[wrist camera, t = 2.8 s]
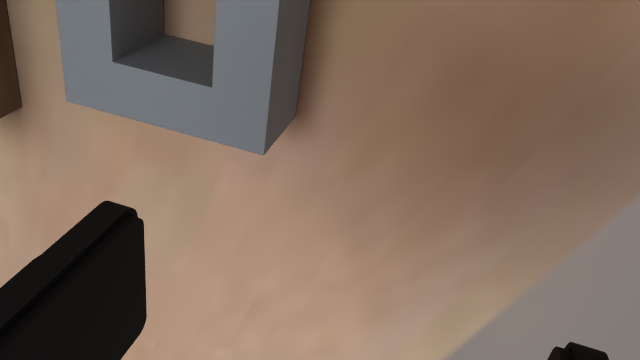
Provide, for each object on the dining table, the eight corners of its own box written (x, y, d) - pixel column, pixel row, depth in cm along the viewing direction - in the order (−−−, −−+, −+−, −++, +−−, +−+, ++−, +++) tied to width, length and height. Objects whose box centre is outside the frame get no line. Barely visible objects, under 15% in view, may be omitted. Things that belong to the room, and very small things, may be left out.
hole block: (323, -99, 24) (288, -89, 20) (295, 115, 29) (263, 155, 25) (110, -140, 25) (40, -138, 22) (120, 70, 31) (66, 101, 27)
